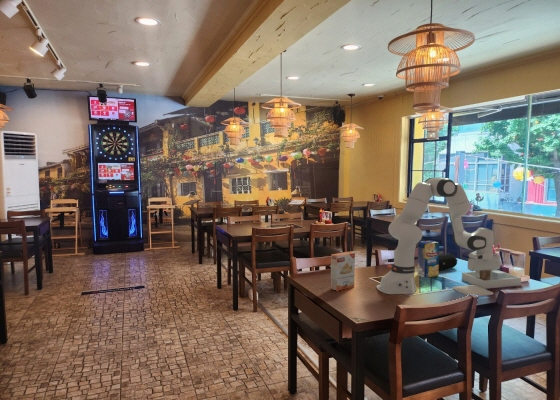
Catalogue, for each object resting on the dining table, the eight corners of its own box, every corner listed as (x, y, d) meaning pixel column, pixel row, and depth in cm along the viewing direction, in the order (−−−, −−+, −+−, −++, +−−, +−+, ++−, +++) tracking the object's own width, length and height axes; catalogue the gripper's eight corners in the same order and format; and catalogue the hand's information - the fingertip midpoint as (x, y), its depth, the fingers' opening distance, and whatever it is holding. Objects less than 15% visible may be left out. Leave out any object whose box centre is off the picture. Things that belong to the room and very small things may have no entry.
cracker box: (337, 292, 204) (337, 256, 202) (330, 289, 209) (330, 254, 207) (355, 287, 211) (355, 252, 209) (348, 285, 216) (348, 251, 214)
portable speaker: (429, 273, 238) (429, 258, 237) (418, 269, 247) (418, 255, 247) (458, 269, 247) (458, 255, 246) (446, 266, 256) (447, 252, 256)
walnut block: (483, 284, 212) (483, 271, 212) (476, 282, 217) (477, 268, 217) (490, 283, 214) (490, 270, 213) (483, 281, 218) (484, 268, 218)
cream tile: (471, 297, 193) (471, 294, 193) (453, 289, 206) (453, 286, 206) (493, 295, 196) (493, 292, 196) (474, 287, 209) (474, 284, 209)
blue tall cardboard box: (438, 275, 233) (439, 242, 231) (424, 277, 229) (425, 243, 228) (431, 272, 239) (431, 240, 237) (417, 274, 236) (418, 241, 234)
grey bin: (483, 289, 205) (483, 281, 205) (461, 280, 222) (462, 272, 222) (520, 286, 211) (521, 277, 210) (496, 277, 228) (496, 269, 227)
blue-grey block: (497, 283, 215) (497, 273, 214) (490, 280, 219) (491, 271, 219) (504, 282, 216) (504, 272, 215) (497, 280, 221) (498, 270, 220)
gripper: (494, 252, 219) (494, 274, 220) (466, 254, 215) (465, 276, 216) (503, 254, 213) (502, 277, 214) (473, 256, 209) (473, 279, 210)
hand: (483, 277), depth 215 cm, fingers closed on walnut block, 5 cm apart
